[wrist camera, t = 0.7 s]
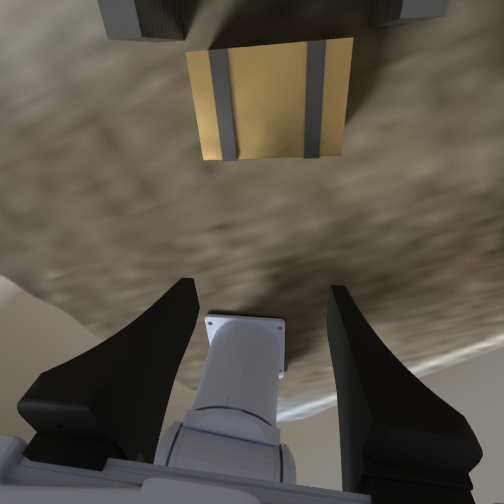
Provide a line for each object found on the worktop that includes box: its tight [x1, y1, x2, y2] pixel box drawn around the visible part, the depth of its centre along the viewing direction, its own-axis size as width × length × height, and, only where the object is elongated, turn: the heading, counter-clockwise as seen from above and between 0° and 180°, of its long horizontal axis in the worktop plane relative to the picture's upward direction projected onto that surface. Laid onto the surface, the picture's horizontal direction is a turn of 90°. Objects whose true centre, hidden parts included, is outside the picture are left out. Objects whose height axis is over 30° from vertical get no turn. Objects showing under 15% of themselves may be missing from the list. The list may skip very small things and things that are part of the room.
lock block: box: [186, 37, 354, 161], centre depth 16 cm, size 5×8×4 cm, turn 94°
